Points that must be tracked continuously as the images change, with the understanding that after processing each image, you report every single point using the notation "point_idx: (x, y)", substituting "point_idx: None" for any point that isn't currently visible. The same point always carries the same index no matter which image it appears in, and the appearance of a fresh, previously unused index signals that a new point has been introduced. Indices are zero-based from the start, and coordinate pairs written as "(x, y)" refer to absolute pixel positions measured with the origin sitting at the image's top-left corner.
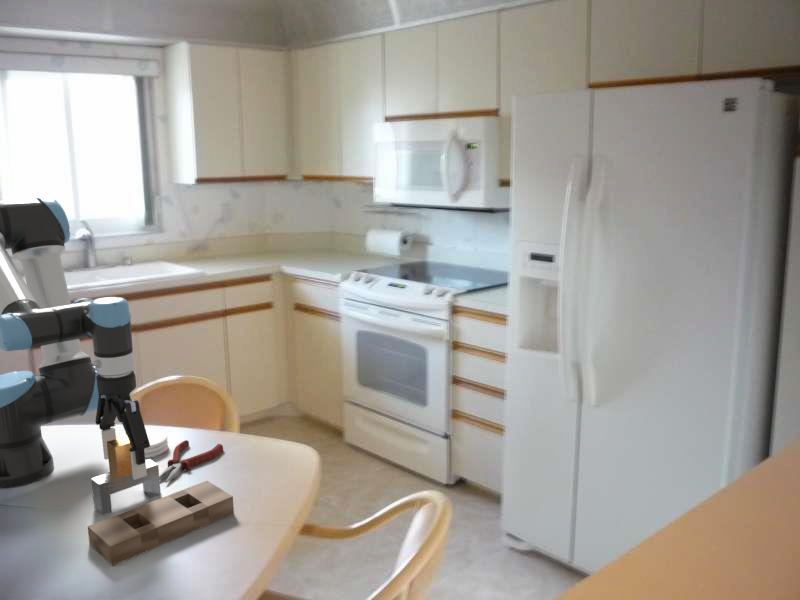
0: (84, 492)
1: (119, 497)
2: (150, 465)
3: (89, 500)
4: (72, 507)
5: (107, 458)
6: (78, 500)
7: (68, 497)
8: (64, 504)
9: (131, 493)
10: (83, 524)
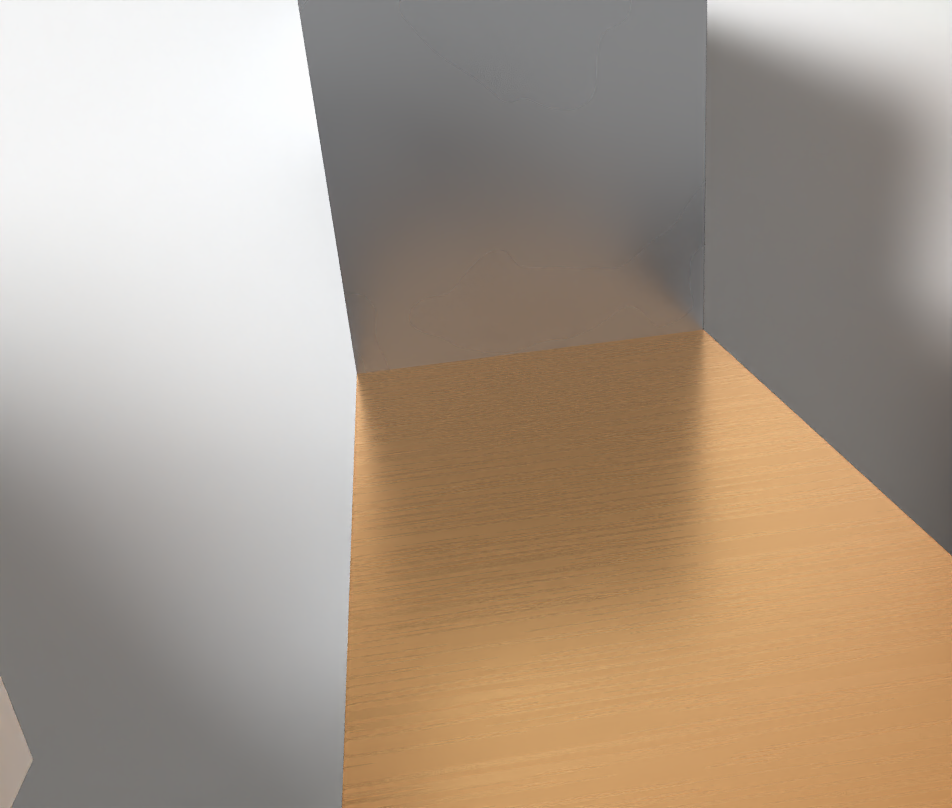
0: (7, 632)
1: (338, 396)
2: (639, 101)
3: (220, 630)
4: (270, 757)
5: (21, 745)
6: (159, 701)
7: (41, 754)
8: (170, 795)
9: (324, 264)
10: None
